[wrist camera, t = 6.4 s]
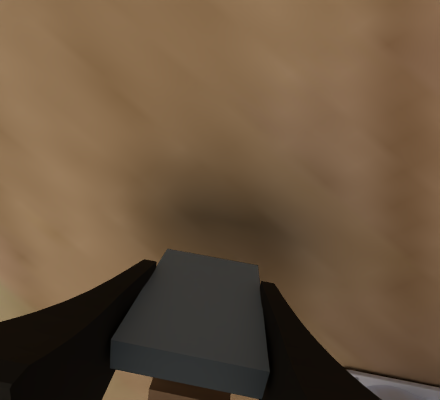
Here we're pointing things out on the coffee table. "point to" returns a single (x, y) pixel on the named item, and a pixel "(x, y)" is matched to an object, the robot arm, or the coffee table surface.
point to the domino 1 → (197, 326)
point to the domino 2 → (182, 391)
